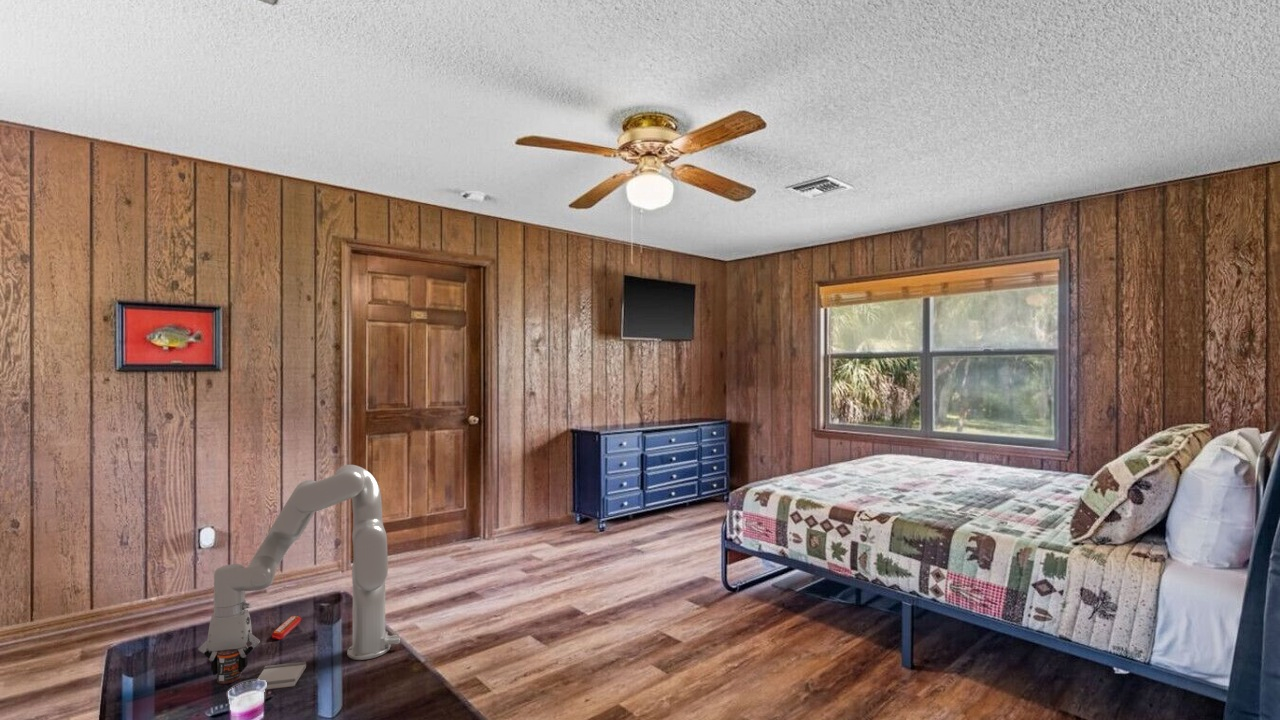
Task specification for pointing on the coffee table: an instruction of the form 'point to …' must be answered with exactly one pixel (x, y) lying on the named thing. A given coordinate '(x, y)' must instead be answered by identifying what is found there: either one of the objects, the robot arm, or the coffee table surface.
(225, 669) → the supplement bottle
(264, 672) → the mat
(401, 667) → the coffee table surface
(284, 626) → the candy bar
